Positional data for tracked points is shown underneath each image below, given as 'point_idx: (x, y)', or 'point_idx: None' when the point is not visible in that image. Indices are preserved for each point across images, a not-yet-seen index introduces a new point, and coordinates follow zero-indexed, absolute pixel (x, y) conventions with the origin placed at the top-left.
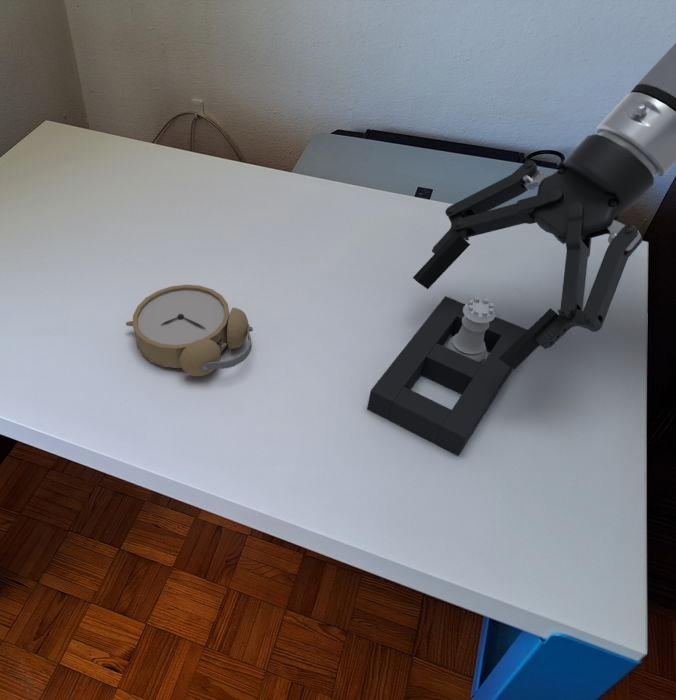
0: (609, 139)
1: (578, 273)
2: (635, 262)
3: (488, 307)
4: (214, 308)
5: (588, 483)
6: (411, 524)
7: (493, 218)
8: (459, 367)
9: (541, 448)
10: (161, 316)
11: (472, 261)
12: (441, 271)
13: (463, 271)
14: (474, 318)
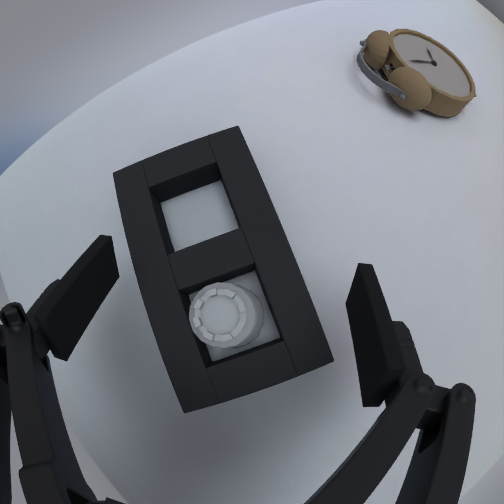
0: None
1: (12, 404)
2: None
3: (211, 330)
4: (438, 86)
5: (35, 278)
6: (115, 109)
7: (357, 459)
8: (193, 252)
9: None
10: (439, 58)
11: None
12: (354, 329)
13: None
14: (209, 287)
